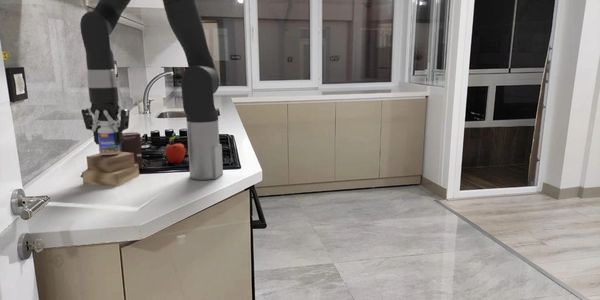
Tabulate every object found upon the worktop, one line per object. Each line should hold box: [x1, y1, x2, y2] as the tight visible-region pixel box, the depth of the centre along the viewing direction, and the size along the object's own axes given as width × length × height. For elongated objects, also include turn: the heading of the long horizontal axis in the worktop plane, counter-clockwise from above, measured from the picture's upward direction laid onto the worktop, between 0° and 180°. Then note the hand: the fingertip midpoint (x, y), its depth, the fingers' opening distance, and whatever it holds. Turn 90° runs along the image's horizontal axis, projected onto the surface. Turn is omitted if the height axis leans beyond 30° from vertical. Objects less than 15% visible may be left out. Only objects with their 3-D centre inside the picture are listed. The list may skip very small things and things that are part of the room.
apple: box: [164, 135, 187, 164], centre depth 143 cm, size 8×7×10 cm
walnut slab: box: [86, 150, 135, 173], centre depth 123 cm, size 9×9×4 cm
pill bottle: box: [98, 121, 120, 155], centre depth 122 cm, size 5×5×10 cm
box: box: [119, 131, 143, 169], centre depth 134 cm, size 6×4×12 cm
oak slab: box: [81, 164, 140, 187], centre depth 124 cm, size 11×11×4 cm
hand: (108, 144), depth 122 cm, fingers open, 5 cm apart
